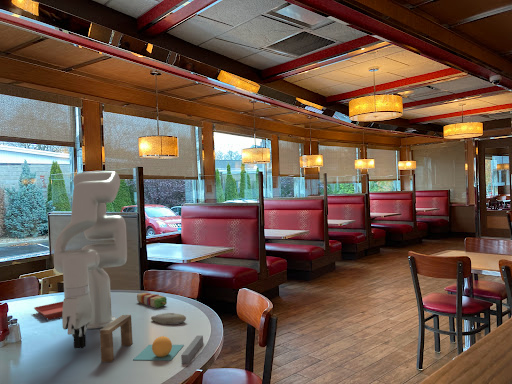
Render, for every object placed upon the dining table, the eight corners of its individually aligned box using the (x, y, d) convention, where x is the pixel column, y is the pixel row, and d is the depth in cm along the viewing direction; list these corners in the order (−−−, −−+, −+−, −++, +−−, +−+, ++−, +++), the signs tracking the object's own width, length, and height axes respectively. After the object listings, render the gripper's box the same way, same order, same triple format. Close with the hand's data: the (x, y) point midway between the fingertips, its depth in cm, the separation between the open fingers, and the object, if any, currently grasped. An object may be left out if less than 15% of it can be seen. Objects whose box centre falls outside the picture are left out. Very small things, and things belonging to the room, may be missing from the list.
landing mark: (133, 360, 126) (133, 359, 126) (149, 345, 138) (149, 344, 138) (171, 360, 124) (171, 359, 124) (183, 345, 136) (183, 344, 136)
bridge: (101, 362, 126) (99, 330, 126) (124, 343, 141) (122, 314, 141) (110, 362, 126) (108, 330, 126) (132, 343, 141) (131, 314, 140)
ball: (169, 354, 124) (153, 363, 125) (178, 348, 130) (163, 357, 131) (160, 335, 125) (145, 344, 126) (169, 330, 131) (155, 339, 132)
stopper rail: (181, 363, 122) (181, 355, 122) (197, 343, 138) (197, 335, 138) (188, 363, 122) (187, 355, 122) (203, 343, 137) (202, 335, 137)
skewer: (135, 303, 193) (134, 293, 193) (147, 300, 198) (146, 290, 198) (159, 311, 179) (158, 299, 179) (172, 307, 183) (171, 296, 183)
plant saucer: (33, 314, 185) (33, 306, 185) (75, 305, 197) (75, 298, 197) (45, 322, 171) (44, 314, 171) (89, 312, 183) (89, 304, 183)
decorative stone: (155, 319, 167) (155, 310, 167) (190, 321, 162) (189, 312, 162) (147, 324, 161) (146, 315, 161) (182, 326, 157) (182, 317, 157)
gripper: (79, 286, 143) (82, 339, 143) (51, 297, 128) (55, 356, 128) (99, 285, 142) (102, 339, 142) (74, 297, 127) (77, 357, 127)
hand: (80, 347), depth 135 cm, fingers closed
